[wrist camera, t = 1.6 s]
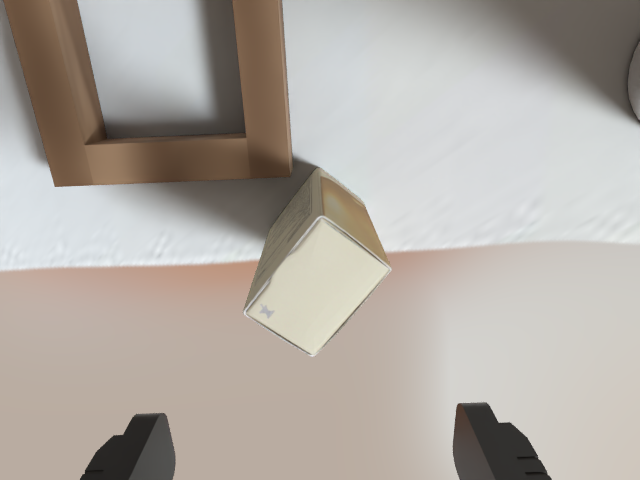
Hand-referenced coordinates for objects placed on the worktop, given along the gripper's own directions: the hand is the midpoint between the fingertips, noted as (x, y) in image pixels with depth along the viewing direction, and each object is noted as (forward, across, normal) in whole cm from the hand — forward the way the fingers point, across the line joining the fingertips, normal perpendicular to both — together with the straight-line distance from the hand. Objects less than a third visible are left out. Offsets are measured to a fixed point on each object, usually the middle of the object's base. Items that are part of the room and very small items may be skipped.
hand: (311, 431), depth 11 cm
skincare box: (+20, 0, 0) cm, 20 cm away
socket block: (+20, +9, -11) cm, 25 cm away
